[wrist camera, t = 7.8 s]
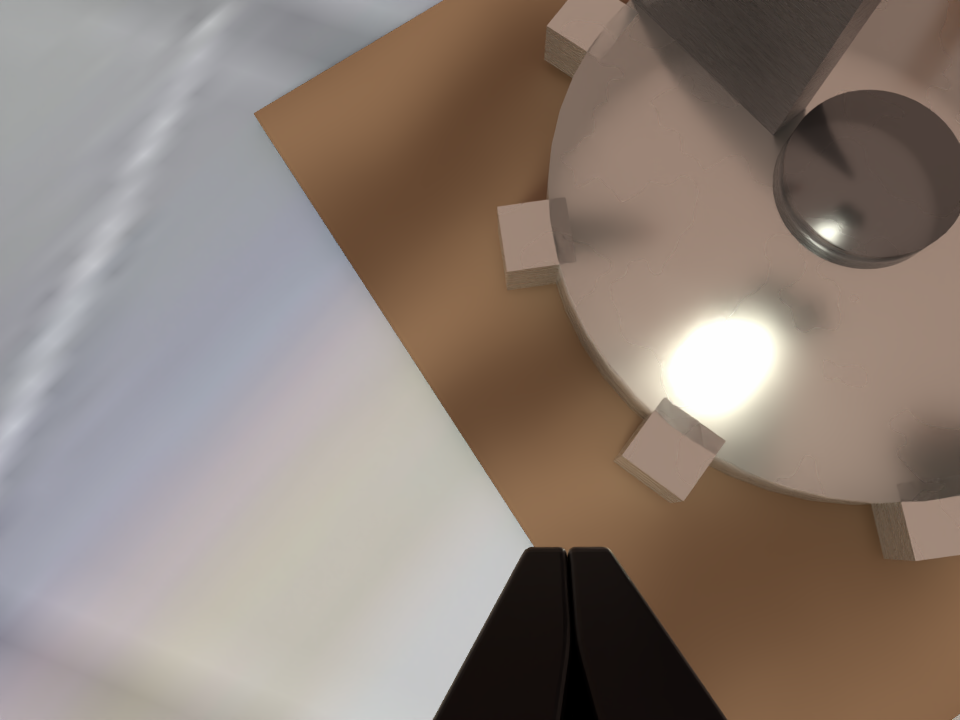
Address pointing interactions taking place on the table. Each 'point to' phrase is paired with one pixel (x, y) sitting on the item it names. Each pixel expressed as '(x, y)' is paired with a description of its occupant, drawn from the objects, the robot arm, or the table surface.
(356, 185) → the base board
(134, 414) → the table surface
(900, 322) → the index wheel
